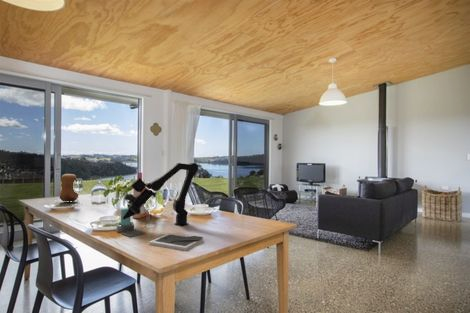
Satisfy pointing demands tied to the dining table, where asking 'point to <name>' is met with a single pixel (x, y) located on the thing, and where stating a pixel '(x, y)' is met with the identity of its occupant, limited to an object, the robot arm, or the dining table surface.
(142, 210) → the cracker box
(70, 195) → the butternut squash
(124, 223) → the teal block
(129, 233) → the dark grey pad
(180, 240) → the picture frame
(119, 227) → the grey holder
